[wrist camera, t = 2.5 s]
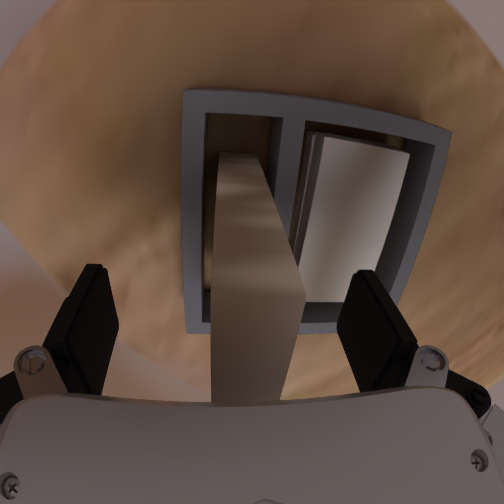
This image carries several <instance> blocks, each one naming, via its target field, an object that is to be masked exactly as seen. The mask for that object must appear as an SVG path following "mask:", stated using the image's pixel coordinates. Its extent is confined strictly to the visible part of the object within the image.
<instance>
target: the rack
mask: <svg viewBox="0 0 504 504" xmlns="http://www.w3.org/2000/svg"><path fill="white" fill-rule="evenodd" d="M208 113H229V114H246V115H260V116H271V117H273V122H272V132H271V141H270V151H269V160H268V169H267V179H266V181H267V184H268V186H269V189H270V192H271V194H272V197H273V200H274V203H275V205H276V208H277V211H278V213H279V216H280V219H281V222H282V225H283V227H284V230H285V233H286V236H287V239H288V238H289V232H290V226H291V219H292V213H293V206H294V199H295V193H296V186H297V179H298V172H299V165H300V158H301V150H302V143H303V136H304V128H305V120H308V121H316V122H323V123H330V124H336V125H343V126H349V127H354V128H360V129H366V130H371V131H376V132H381V133H386V134H390V135H395V136H400V137H404V138H407V141H406V145H405V150H404V151H405V152H407V153H409V154H410V156H409V160H408V164H407V168H406V172H405V176H404V179H403V183H402V187H401V190H400V194H399V197H398V201H397V204H396V208H395V211H394V214H393V218H392V221H391V224H390V227H389V230H388V233H387V236H386V239H385V242H384V245H383V248H382V251H381V254H380V257H379V260H378V263H377V266H376V268H375V271H374V272H375V274H376V275H377V277H378V278H379V280H380V281H381V283H382V284H383V286H384V287H385V289H386V291H387V292H388V294H389V295H390V297H391V298H392V300H393V302H394V303H395V305H396V306H397V304H398V302H399V299H400V297H401V295H402V292H403V290H404V288H405V285H406V283H407V280H408V278H409V275H410V273H411V270H412V267H413V265H414V262H415V259H416V257H417V254H418V251H419V248H420V246H421V243H422V240H423V237H424V234H425V231H426V228H427V225H428V222H429V219H430V216H431V212H432V209H433V206H434V203H435V199H436V196H437V192H438V189H439V185H440V181H441V178H442V174H443V170H444V166H445V162H446V158H447V153H448V149H449V145H450V140H451V135H452V132H451V131H449V130H446V129H444V128H441V127H438V126H436V125H433V124H430V123H427V122H425V121H421V120H418V119H414V118H410V117H407V116H403V115H399V114H395V113H391V112H387V111H383V110H378V109H374V108H369V107H364V106H360V105H355V104H349V103H344V102H339V101H333V100H327V99H321V98H314V97H307V96H300V95H292V94H283V93H274V92H264V91H252V90H237V89H216V88H189V89H186V90H183V106H182V135H181V237H182V267H183V288H184V306H185V321H186V333H189V334H211V292H204V213H205V177H206V151H207V130H208ZM343 303H344V302H305V307H304V311H303V315H302V319H301V323H300V327H299V331H298V334H324V333H337V328H336V326H337V321H338V318H339V315H340V312H341V309H342V306H343Z"/></svg>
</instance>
